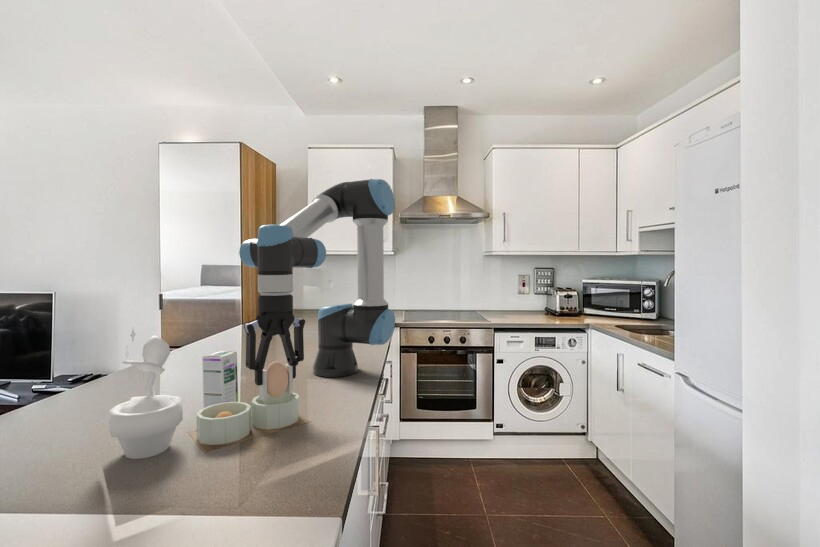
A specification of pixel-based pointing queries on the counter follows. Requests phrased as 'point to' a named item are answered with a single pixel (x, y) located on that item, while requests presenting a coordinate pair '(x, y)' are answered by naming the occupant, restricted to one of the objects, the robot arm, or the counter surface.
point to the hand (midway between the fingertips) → (276, 395)
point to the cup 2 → (275, 411)
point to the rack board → (253, 434)
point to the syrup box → (220, 378)
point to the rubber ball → (224, 414)
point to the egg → (276, 379)
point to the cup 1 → (223, 423)
